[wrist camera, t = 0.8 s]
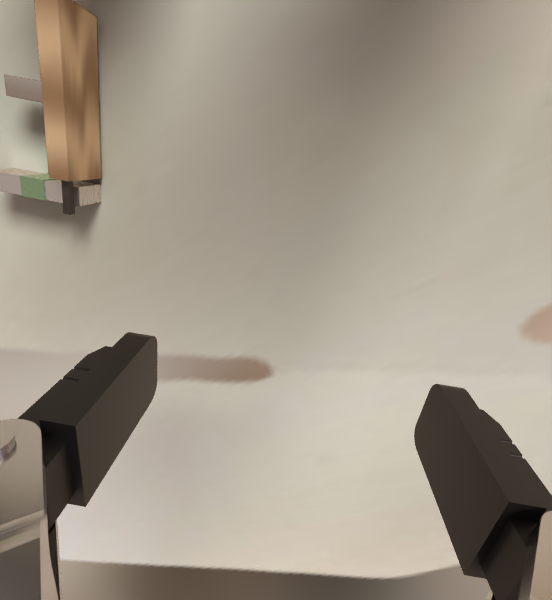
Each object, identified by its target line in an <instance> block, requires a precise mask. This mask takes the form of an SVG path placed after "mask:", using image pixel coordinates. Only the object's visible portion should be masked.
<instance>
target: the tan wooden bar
mask: <svg viewBox="0 0 552 600" xmlns="http://www.w3.org/2000/svg"><path fill="white" fill-rule="evenodd" d="M34 4H35V16H36V28H37V40H38V52H39V64H40V75H41V81H37V80H31V79H26V78H21V77H15V76H10V75H5V74H4V78H5V86H6V95H7V96H11V97H16V98H21V99H26V100H31V101H37V102H42V103H43V111H44V123H45V135H46V147H47V159H48V171H49V178H53V179H58V180H61V184H62V198H63V212H64V214H70V215H71V214H75V205H74V188H73V181H80V180H91V179H101V160H100V123H99V86H98V49H97V17H95V16H94V15H93V14H91V13H90V12H88V11H87V10H85V9H84V8H82V7H81V6H80V5H78V4H77V3H75V2H74V1H72V0H34Z"/></svg>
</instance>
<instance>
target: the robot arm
mask: <svg viewBox="0 0 552 600" xmlns="http://www.w3.org/2000/svg"><path fill="white" fill-rule="evenodd" d="M156 386H157V339H156V337H154V336H149V335H143V334H137V333H131V332H128V333H126V334H125V335H124V336H123V337H122V338H121V339H120V340H119V341H118V342H117V343H116V344H115V345H114V346H113V347H107V346H105V347H103V348H101V349H99V350H97V351H95V352H92V353H90V354H88V355H87V356H86V357H85V358H84V359H82V360H81V361H80V362H79V363H78V364H77V365H76V366H75V367H74V369H72V370H71V371H69V372H68V373H67V374H66V375H65V376H64V378H63V380H59V381H58V382H57V383H56V384H55V385H54V386H53V387H52V388H51V389H50V390H49V391H48V392H46V393H45V394H44V395H43V396H42V397H41V398H40V399H39V400H38V401H37V402H36V403H35V404H33V405H32V406H31V407H30V408H29V409H28V410H27V411H26V412H25V413H23V414H22V415H21V416H20V417H19V418H18V419H9V420H2V421H0V600H62V587H61V572H60V555H59V539H58V525H57V518H58V517H59V515H60V514H61V512H62V511H63V509H64V508H65V506H66V505H67V504H73V505H79V506H84V507H86V505H87V504H88V502H89V500H90V499H91V497H92V496H93V494H94V492H95V491H96V489H97V488H98V486H99V484H100V483H101V481H102V480H103V478H104V477H105V475H106V473H107V472H108V470H109V469H110V467H111V465H112V464H113V462H114V461H115V459H116V457H117V456H118V454H119V453H120V451H121V449H122V448H123V446H124V445H125V443H126V441H127V440H128V438H129V437H130V435H131V433H132V432H133V430H134V429H135V427H136V425H137V424H138V422H139V421H140V419H141V417H142V416H143V414H144V413H145V411H146V409H147V408H148V406H149V405H150V403H151V401H152V399H153V397H154V394H155V391H156ZM414 438H415V446H416V449H417V452H418V454H419V457H420V460H421V462H422V465H423V468H424V470H425V473H426V476H427V478H428V481H429V484H430V486H431V489H432V491H433V494H434V497H435V499H436V502H437V505H438V507H439V510H440V513H441V515H442V518H443V520H444V523H445V526H446V528H447V531H448V534H449V536H450V539H451V542H452V544H453V547H454V550H455V552H456V555H457V557H458V560H459V563H460V565H461V568H462V570H463V573H464V575H468V576H474V577H479V578H485V579H487V581H488V583H489V586H490V588H491V591H490V592H489V594H488V595H487V597H486V599H485V600H552V495H551V494H550V493H549V491H548V490H547V489H546V487H545V486H544V484H543V483H542V482H541V480H540V479H539V478H538V476H537V475H536V473H535V472H534V471H533V469H532V468H531V466H530V465H529V464H528V462H527V461H526V460H525V459H523V458H522V454H521V453H520V451H519V450H518V449H517V447H516V446H515V445H514V444H512V440H511V439H510V438H509V436H508V435H507V433H506V432H505V431H504V429H503V428H502V426H501V425H500V424H499V423H498V422H496V421H495V420H494V419H493V418H492V417H491V416H489V415H488V414H487V413H486V412H485V411H484V410H481V409H479V408H478V406H477V405H476V403H475V402H474V400H473V399H472V398H471V396H470V395H469V393H468V392H467V391H466V390H465V389H463V388H458V387H452V386H446V385H440V384H435V385H433V386H432V387H431V389H430V391H429V394H428V396H427V399H426V401H425V404H424V406H423V409H422V411H421V414H420V416H419V419H418V421H417V424H416V427H415V434H414Z"/></svg>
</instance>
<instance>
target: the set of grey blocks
mask: <svg viewBox="0 0 552 600" xmlns="http://www.w3.org/2000/svg"><path fill="white" fill-rule="evenodd" d="M73 188H74V205H75V206H84V205H89V204H94V203H99V202H101V189H100V184H95V183H90V182H84V181H73ZM0 191H1V192H7V193H12V194H17V195H22V196H23V197H28V198H34V199H39V200H44V201H46V200H49V201H54V202H59V203H63V198H62V184H61V180H58V179H53V178H49V174H42V173H37V172H31V171H26V170H21V169H0Z"/></svg>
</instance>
